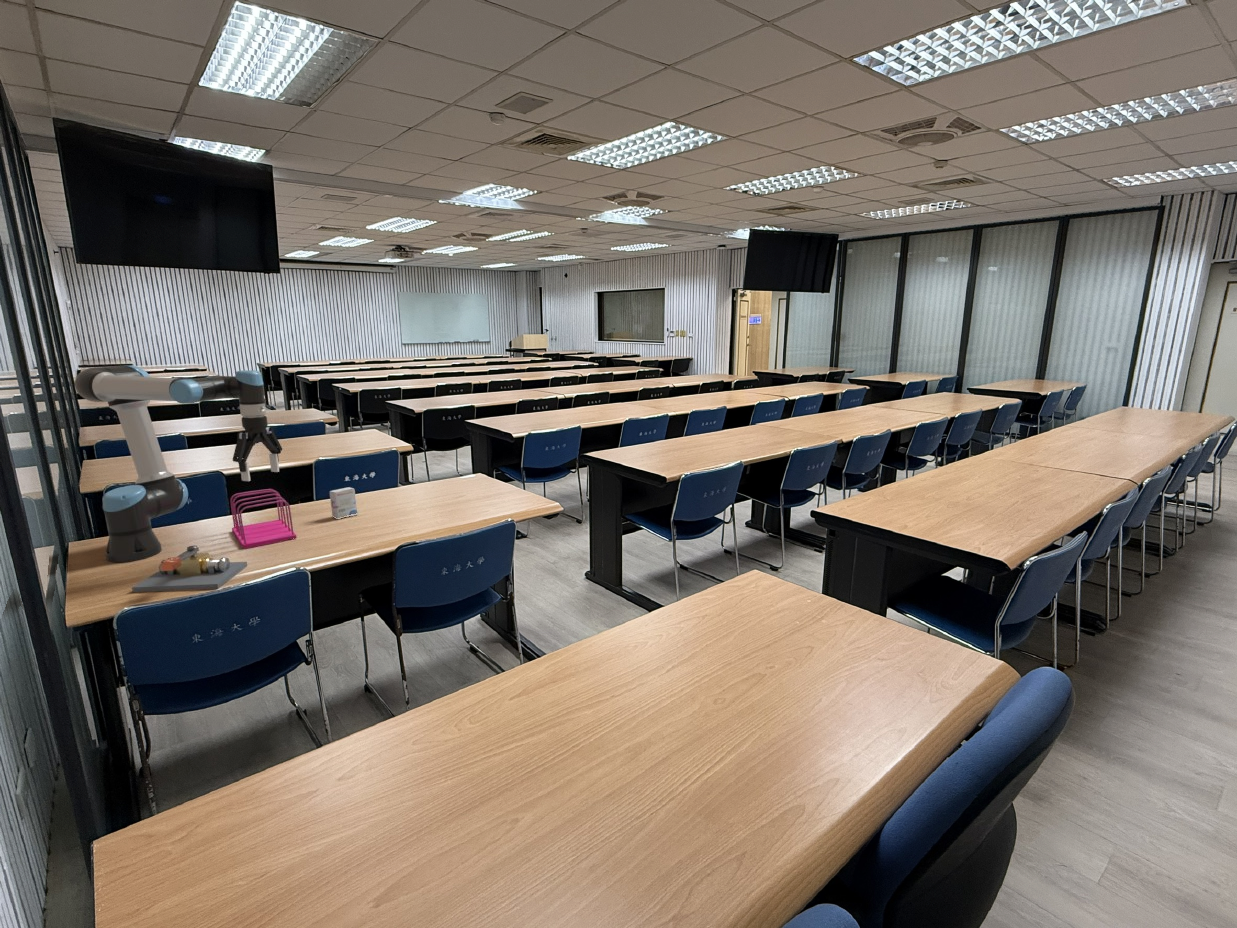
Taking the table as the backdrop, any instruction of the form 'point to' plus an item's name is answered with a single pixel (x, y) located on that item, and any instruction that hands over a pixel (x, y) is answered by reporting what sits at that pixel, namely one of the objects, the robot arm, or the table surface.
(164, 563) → the valve lever
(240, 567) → the mounting board
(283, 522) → the file sorter
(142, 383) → the robot arm
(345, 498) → the ink box
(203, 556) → the valve pipe
